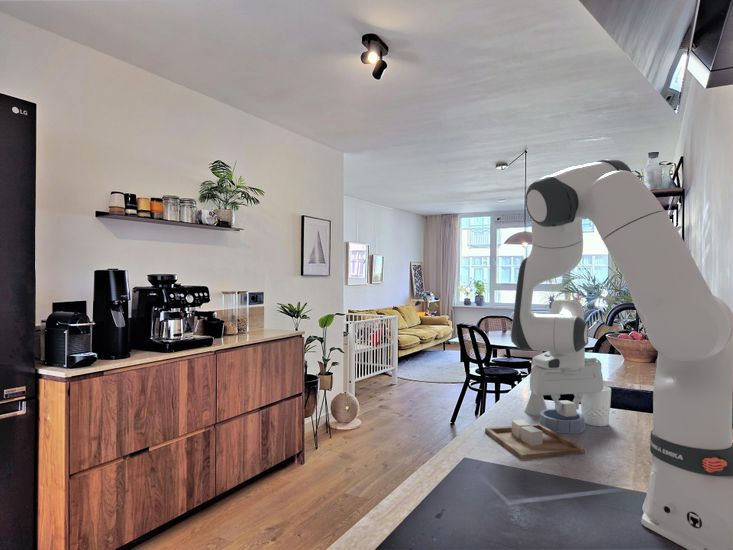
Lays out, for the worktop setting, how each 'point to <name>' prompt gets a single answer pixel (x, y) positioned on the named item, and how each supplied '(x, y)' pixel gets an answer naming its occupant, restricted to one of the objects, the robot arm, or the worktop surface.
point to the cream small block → (518, 427)
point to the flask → (535, 405)
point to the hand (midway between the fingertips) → (566, 409)
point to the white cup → (596, 407)
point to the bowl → (561, 421)
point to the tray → (523, 450)
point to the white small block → (568, 408)
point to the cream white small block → (532, 435)
